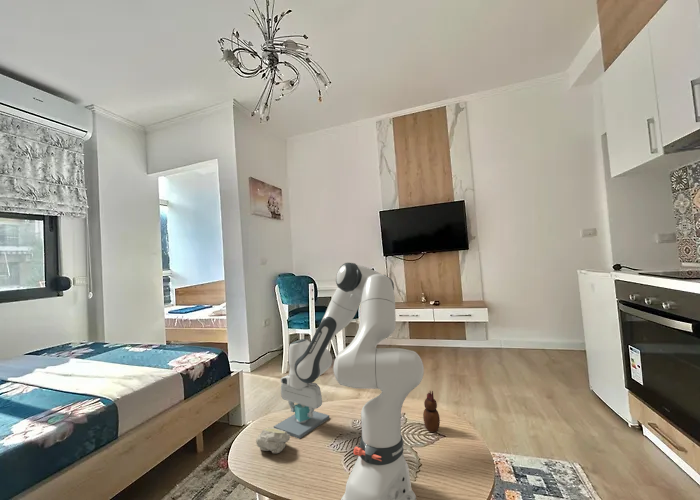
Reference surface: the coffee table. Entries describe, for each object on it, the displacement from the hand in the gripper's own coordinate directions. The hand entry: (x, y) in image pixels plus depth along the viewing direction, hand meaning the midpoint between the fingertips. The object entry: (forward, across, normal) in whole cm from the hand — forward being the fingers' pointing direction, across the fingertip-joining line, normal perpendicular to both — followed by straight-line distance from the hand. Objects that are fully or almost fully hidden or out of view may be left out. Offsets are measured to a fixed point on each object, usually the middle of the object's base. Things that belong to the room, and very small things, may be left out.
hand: (301, 414), depth 130 cm
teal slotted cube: (+2, 0, 0) cm, 2 cm away
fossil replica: (+4, -4, +19) cm, 20 cm away
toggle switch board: (+4, 0, 0) cm, 4 cm away
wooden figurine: (+4, -47, -22) cm, 52 cm away
